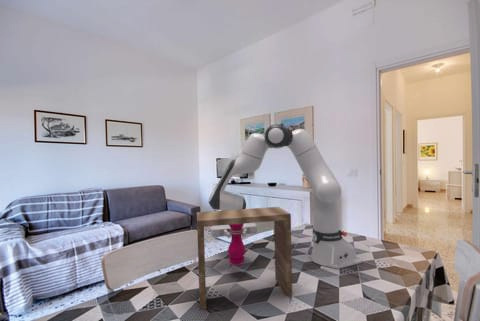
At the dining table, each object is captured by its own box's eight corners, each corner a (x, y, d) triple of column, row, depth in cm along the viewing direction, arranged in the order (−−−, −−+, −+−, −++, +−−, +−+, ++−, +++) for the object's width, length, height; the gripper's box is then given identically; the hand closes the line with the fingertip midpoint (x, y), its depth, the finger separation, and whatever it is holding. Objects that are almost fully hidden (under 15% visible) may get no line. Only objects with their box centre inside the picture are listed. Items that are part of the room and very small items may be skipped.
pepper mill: (243, 265, 96) (243, 216, 95) (226, 264, 97) (225, 215, 96) (247, 257, 103) (246, 211, 102) (230, 256, 104) (229, 211, 103)
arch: (280, 278, 96) (278, 206, 95) (292, 295, 84) (290, 213, 84) (199, 289, 90) (196, 212, 89) (200, 309, 78) (197, 221, 77)
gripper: (209, 220, 110) (211, 229, 97) (252, 217, 114) (260, 225, 101) (209, 233, 110) (211, 245, 97) (252, 230, 114) (260, 240, 101)
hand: (236, 235), depth 99 cm, fingers closed on pepper mill, 5 cm apart
